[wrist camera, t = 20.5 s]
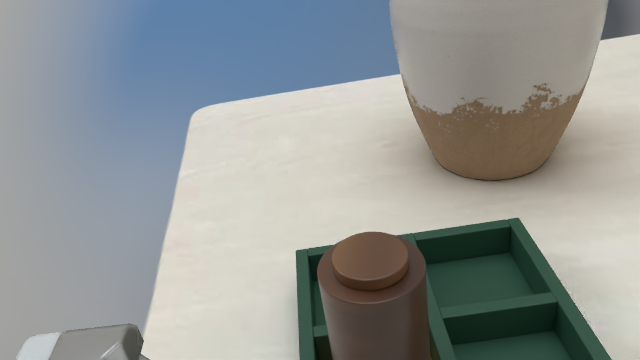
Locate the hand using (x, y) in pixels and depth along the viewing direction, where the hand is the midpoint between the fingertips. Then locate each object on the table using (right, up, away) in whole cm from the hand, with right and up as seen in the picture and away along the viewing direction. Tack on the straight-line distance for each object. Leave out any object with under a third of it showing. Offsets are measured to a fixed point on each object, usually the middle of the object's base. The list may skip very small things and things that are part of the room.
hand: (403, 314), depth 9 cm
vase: (+14, +4, +41) cm, 43 cm away
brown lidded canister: (+2, -9, +19) cm, 22 cm away
